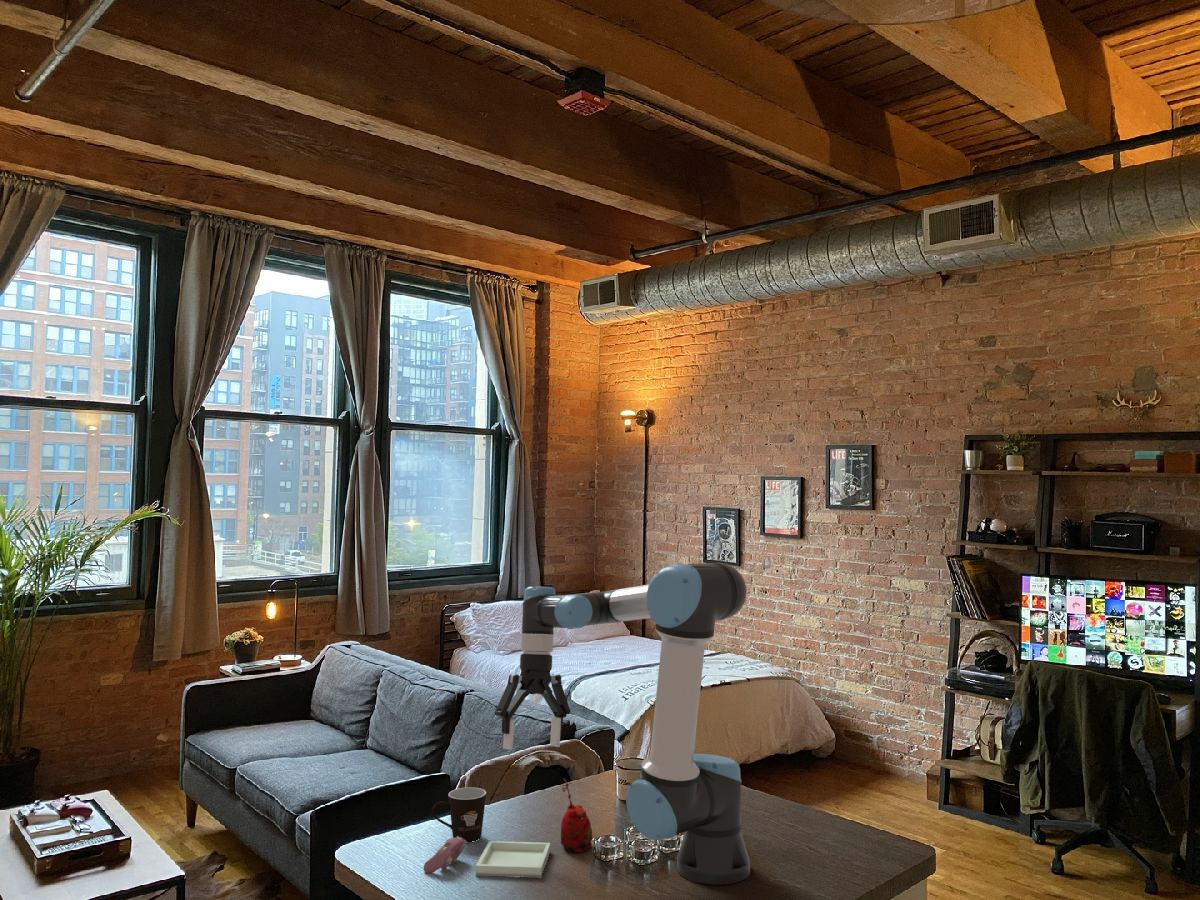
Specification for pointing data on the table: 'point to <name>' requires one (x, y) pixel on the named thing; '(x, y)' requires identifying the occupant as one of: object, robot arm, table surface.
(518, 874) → the sage tray
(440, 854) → the pink animal figurine
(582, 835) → the red bumpy rounded piece
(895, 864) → the table surface
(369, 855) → the table surface
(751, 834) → the table surface
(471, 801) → the coffee mug
